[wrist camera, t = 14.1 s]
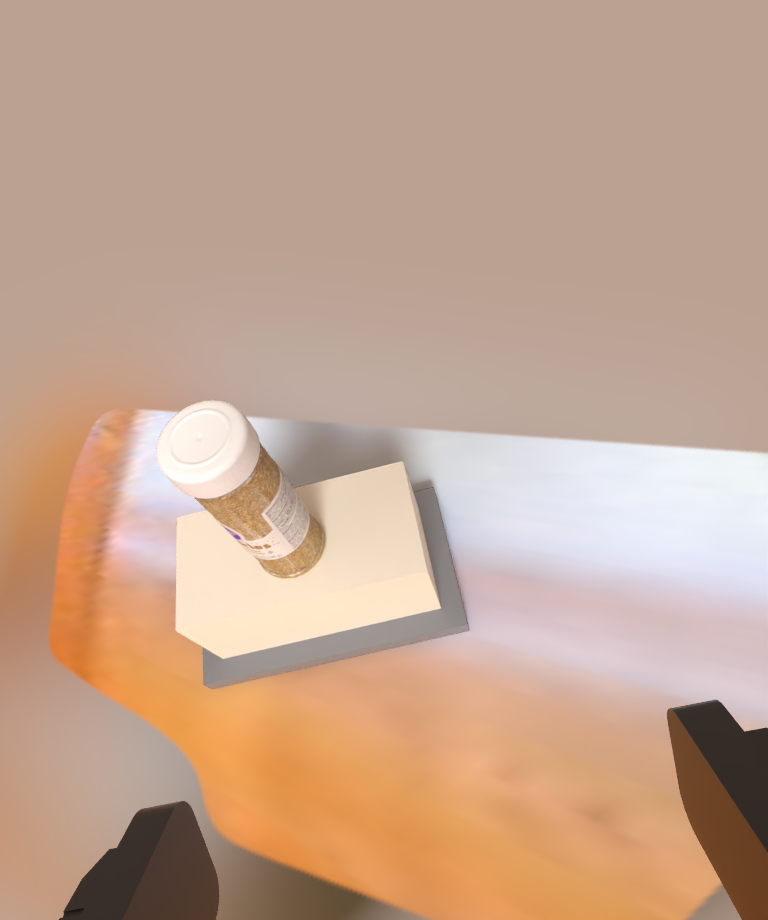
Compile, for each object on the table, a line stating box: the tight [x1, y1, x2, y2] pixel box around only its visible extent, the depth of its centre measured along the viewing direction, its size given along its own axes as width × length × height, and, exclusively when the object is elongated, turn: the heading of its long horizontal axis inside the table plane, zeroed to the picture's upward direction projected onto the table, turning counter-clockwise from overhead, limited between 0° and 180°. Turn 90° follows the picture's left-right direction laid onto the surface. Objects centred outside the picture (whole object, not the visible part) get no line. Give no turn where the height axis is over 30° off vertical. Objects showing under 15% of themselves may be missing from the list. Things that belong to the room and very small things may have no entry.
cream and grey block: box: [176, 461, 469, 689], centre depth 44 cm, size 19×11×9 cm, turn 100°
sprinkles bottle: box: [156, 400, 325, 579], centre depth 35 cm, size 5×5×13 cm
